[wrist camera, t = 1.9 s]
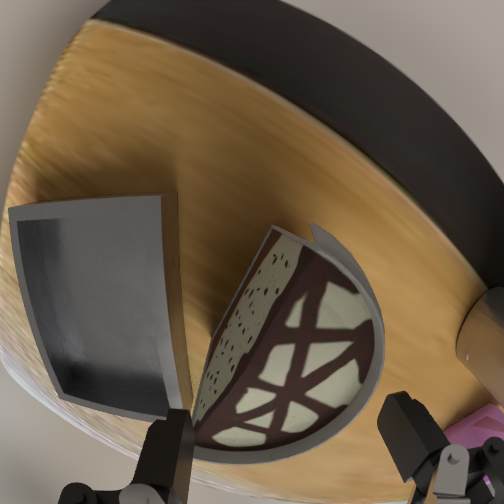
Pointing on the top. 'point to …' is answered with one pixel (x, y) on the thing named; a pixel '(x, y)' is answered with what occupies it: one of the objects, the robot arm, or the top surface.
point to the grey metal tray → (106, 300)
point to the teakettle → (477, 428)
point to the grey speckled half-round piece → (289, 354)
